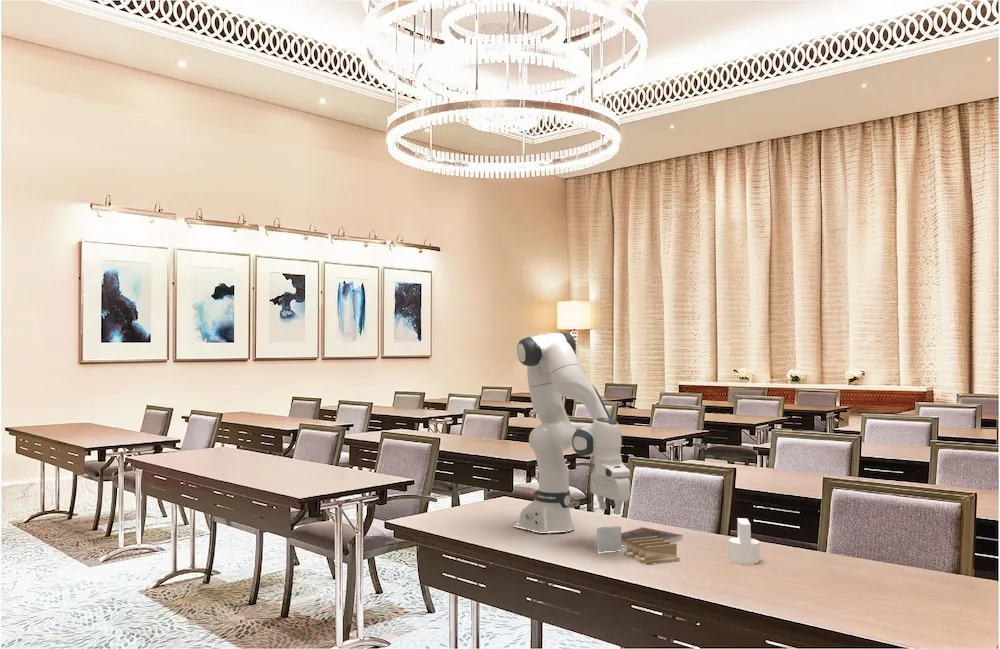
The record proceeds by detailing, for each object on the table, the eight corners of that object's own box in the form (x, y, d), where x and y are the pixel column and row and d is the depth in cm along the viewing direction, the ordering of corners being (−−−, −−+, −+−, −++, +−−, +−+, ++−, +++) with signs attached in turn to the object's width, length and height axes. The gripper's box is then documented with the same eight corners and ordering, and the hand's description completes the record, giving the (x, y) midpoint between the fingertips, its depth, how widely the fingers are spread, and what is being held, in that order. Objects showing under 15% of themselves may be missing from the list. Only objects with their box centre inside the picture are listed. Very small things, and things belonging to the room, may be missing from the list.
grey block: (597, 552, 244) (597, 527, 244) (618, 550, 247) (618, 525, 247) (599, 553, 243) (599, 528, 243) (621, 551, 246) (621, 526, 246)
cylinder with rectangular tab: (761, 565, 229) (761, 525, 230) (730, 563, 231) (730, 523, 231) (757, 557, 238) (757, 518, 238) (727, 556, 240) (727, 517, 240)
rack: (624, 554, 241) (623, 538, 242) (656, 550, 246) (656, 535, 246) (646, 564, 229) (646, 548, 230) (679, 560, 234) (679, 544, 234)
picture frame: (645, 553, 246) (682, 541, 261) (645, 545, 246) (682, 534, 261) (605, 544, 258) (643, 533, 273) (605, 536, 258) (643, 526, 273)
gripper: (584, 465, 254) (586, 507, 253) (615, 473, 235) (617, 518, 234) (601, 464, 256) (602, 505, 256) (633, 471, 237) (634, 516, 237)
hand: (609, 511), depth 245 cm, fingers open, 8 cm apart
